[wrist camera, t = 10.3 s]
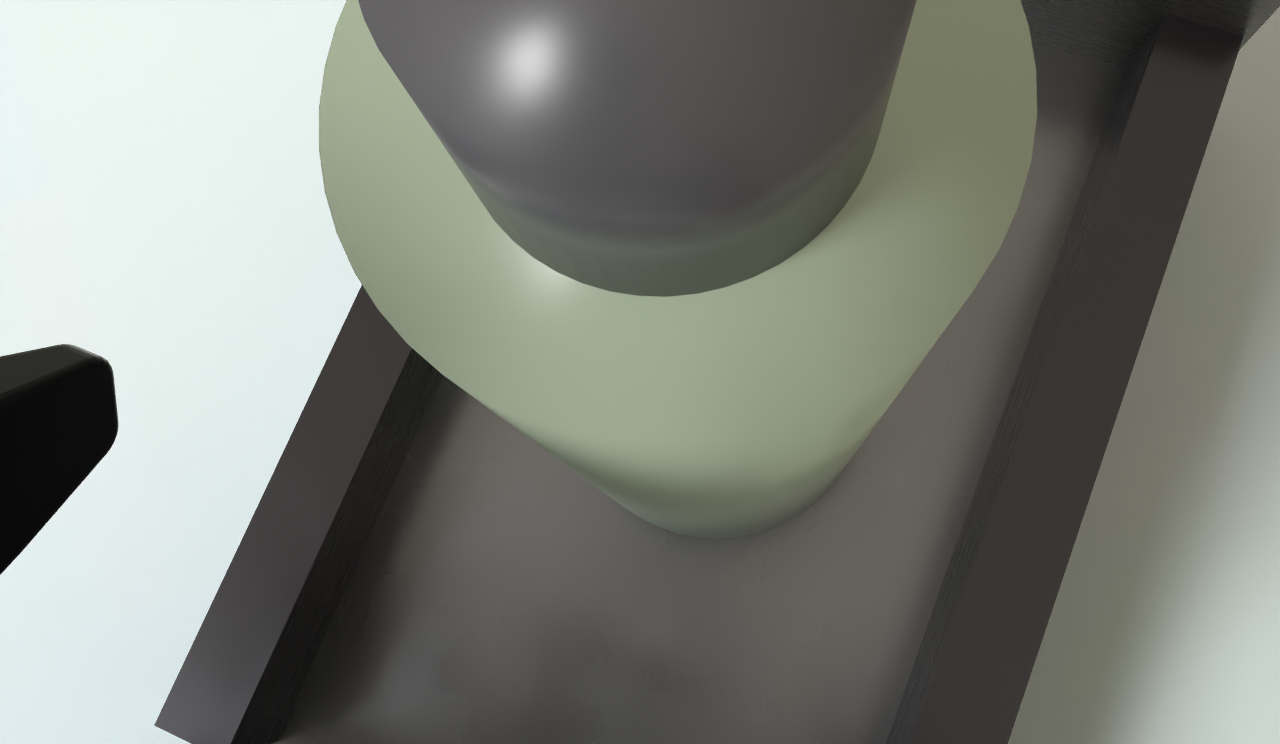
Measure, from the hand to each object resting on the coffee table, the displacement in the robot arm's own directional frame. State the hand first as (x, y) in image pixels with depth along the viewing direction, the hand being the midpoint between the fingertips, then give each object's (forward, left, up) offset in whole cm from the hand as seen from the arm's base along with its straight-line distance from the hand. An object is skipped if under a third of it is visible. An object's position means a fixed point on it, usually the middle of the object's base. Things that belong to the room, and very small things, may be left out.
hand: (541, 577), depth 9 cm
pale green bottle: (+3, -2, -8) cm, 9 cm away
